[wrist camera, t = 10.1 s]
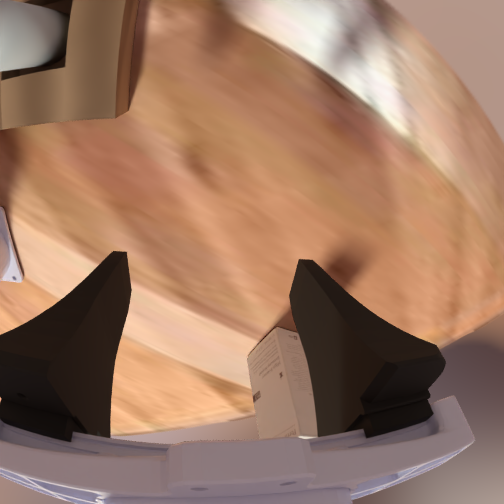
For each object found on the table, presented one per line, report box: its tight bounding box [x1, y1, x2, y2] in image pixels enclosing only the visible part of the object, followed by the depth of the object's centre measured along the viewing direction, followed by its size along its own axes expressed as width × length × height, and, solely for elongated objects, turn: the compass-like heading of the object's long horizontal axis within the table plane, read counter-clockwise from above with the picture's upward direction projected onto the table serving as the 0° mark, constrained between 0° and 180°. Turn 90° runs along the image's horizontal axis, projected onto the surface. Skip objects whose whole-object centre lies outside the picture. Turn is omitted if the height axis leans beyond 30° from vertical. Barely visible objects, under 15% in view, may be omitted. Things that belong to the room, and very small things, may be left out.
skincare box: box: [247, 327, 318, 439], centre depth 27 cm, size 6×4×12 cm
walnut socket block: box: [0, 0, 139, 130], centre depth 12 cm, size 12×12×3 cm
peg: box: [0, 0, 70, 72], centre depth 10 cm, size 4×4×7 cm
